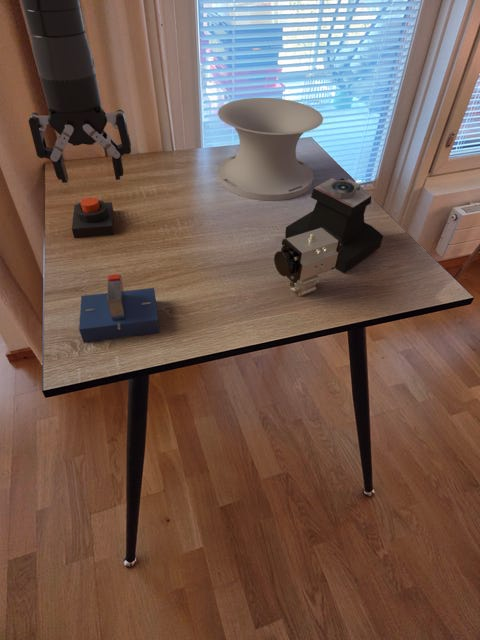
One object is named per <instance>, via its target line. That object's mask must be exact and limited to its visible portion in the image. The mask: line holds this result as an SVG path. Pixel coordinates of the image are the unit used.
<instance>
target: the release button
mask: <svg viewBox="0 0 480 640" xmlns="http://www.w3.org/2000/svg"><path fill="white" fill-rule="evenodd" d="M98 200H99V199H98V198H96V197H93V196H92V197H91V196H90V197H85V198H82V199H81V200H80V202H81V207H82V210H83V212H95V211H98V210H99V209H100V205H99V201H98Z"/></svg>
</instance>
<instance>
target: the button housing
mask: <svg viewBox="0 0 480 640" xmlns="http://www.w3.org/2000/svg"><path fill="white" fill-rule="evenodd" d="M98 201H99V205H100V209H99V210H98V211H95V212H83V210H82V207H81V201H80V202H78V203H77V204H74V205H73V206H74V207H73V215H72V224H71V231H72V235H73V238H74V239H78V238H89V237H90V238H91V237H101V236H113V235H114V234H115V229H114V228H115V227H114V225H115V224H114V221H115V220H114V207H113V202H112V201H108V202H105V201H104V200H100V199H98Z"/></svg>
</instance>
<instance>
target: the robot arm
mask: <svg viewBox="0 0 480 640" xmlns="http://www.w3.org/2000/svg"><path fill="white" fill-rule="evenodd" d="M20 3H21V7H22V10H23V14H24V18H25V21H26V25H27V30H28V33H29V36H30V42H31V49H32V54H33V58H34V62H35V65H36V69H37V73H38V76H39V79H40V83H41V84H40V85H41V87H42V90H43V94H44V97H45V101H46V105H47V108H48V115H40V114H39V113H37V112H32V113H31V114H30V116H29V119H28V125H29V129H30V133H31V137H32V141H33V144H34V145H33V146H34V149H35V152H36V156H37V157H38V158H39V159H44V158H45V159H48V160H50V162H51V163H52V166H53V169H54V173H55V176H56V179H58V180H61V182H62V184H66V183H68V182H69V175H68V172H67V168H66V163H65V161H64V157H63V155H62V153H63V152H64V150H65V148H66V146H67V144H69V145H72V146H73V147H74V146H76V147H77V146H81V145H88V146H93V145H95V144H96V143H97V144H98V145H99V146H100V147H101V148H102V149H103V150H106V151H107V152H108V154H110V155H111V162H112V167H113V173H114V177H115V180H116V181H120V180H121V177H123V176H124V165H123V160H122V159H123V158H122V157H123V156H124V155H130V154H131V153H132V142H131V139H130V134H129V133H130V132H129V130H128V125H127V121H126V116H125V111H124V110H122V109H117V110H116V112H107V113H106V112H105V110H104V109H103V106H102V102H101V96H100V91H99V86H98V80H97V76H96V75H97V74H96V71H95V61H94V58H93V55H92V50H91V47H90V42H89V41H88V36H87V33H86V30H85V29H86V28H85V23H84V18H83V14H82V9H81V4H80V0H20ZM108 123H110V124H111V125H112V127H113V128H114V129H117V130H118V134H119V139H120V142H121V143H119V144H118V143H117V142H115V140H114V139H113V138H112V136H111V135H110V134H109V133H108V132H107V131H106V130H105V128H106V126H107V124H108ZM47 125H49V126H50V127H51V128H52V129H53V130H54V131H55V132H56V133H57V134H58V137H57V139H56V141H55V143H54V145H53V147H49V146H47V141H46V137H45V132H46V130H47V128H48V127H47Z"/></svg>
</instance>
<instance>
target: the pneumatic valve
mask: <svg viewBox="0 0 480 640" xmlns="http://www.w3.org/2000/svg"><path fill="white" fill-rule="evenodd" d="M342 254H343V243H342V241H341V239H340V238H339V237H338V236H337V235H335V234H333V233H332V232H330V231H329V230H328V229H326V228H325V227H322V228H318V229H315V230H312V231H309V232H306V233H302V234H299V235H296V236H293V237H289V238H282V240H281V245H280V250H279V251H276V252H275V254H274V257H273V262H274V266H275V269H276V271H277V273H278V274H279V275H280V276H282V277H286V278H287V279H289V281H288V287H289V289H290V291H291V292H292V293H297V296H299V297H302V296H305V295H308V294H311V293H313V292H315V291H316V290H317V284H319V282H320V277H319V275H322V274H325V273H327V272H330V271H333V270H335V268H334V267H336V266H338V262H339V258H340V257H341V256H342Z"/></svg>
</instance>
